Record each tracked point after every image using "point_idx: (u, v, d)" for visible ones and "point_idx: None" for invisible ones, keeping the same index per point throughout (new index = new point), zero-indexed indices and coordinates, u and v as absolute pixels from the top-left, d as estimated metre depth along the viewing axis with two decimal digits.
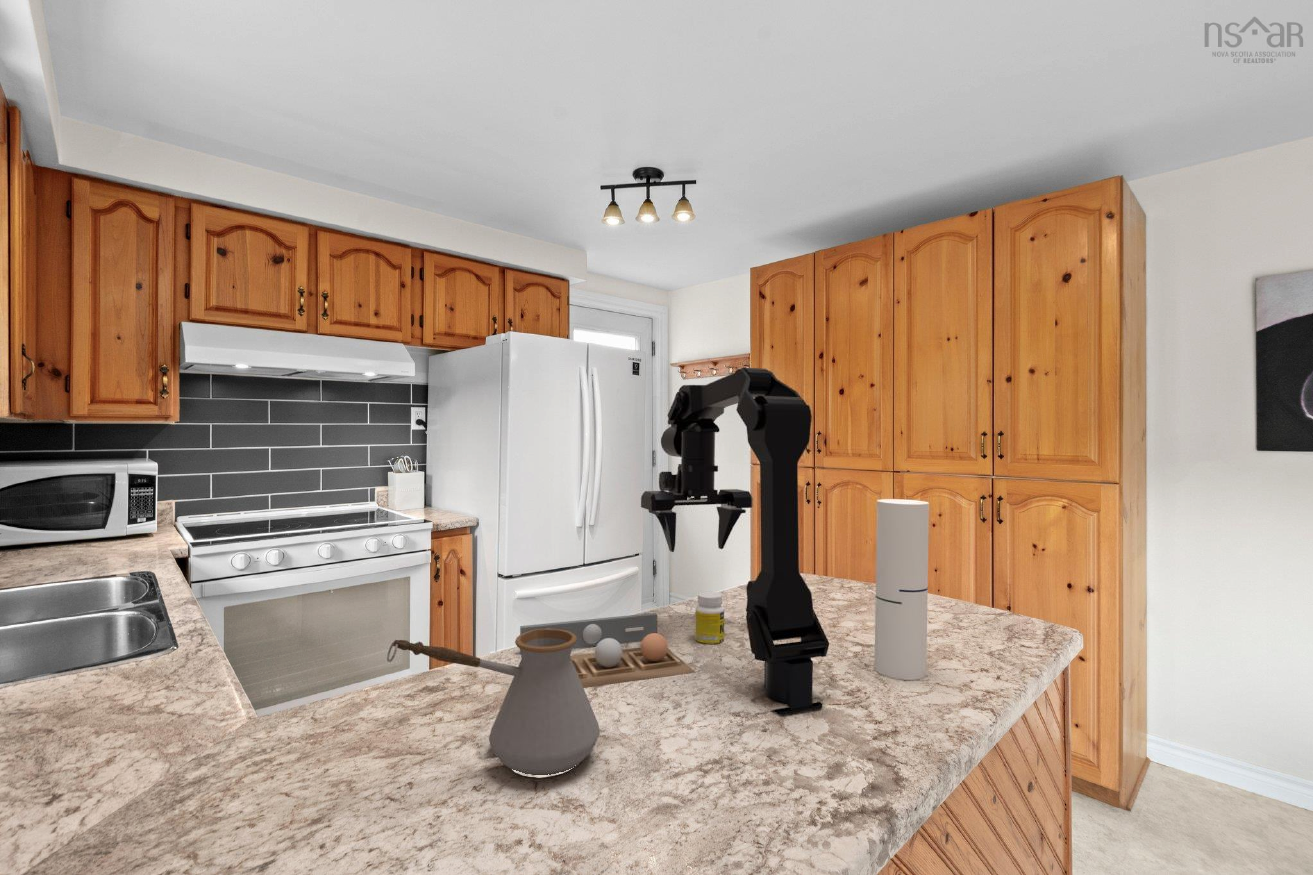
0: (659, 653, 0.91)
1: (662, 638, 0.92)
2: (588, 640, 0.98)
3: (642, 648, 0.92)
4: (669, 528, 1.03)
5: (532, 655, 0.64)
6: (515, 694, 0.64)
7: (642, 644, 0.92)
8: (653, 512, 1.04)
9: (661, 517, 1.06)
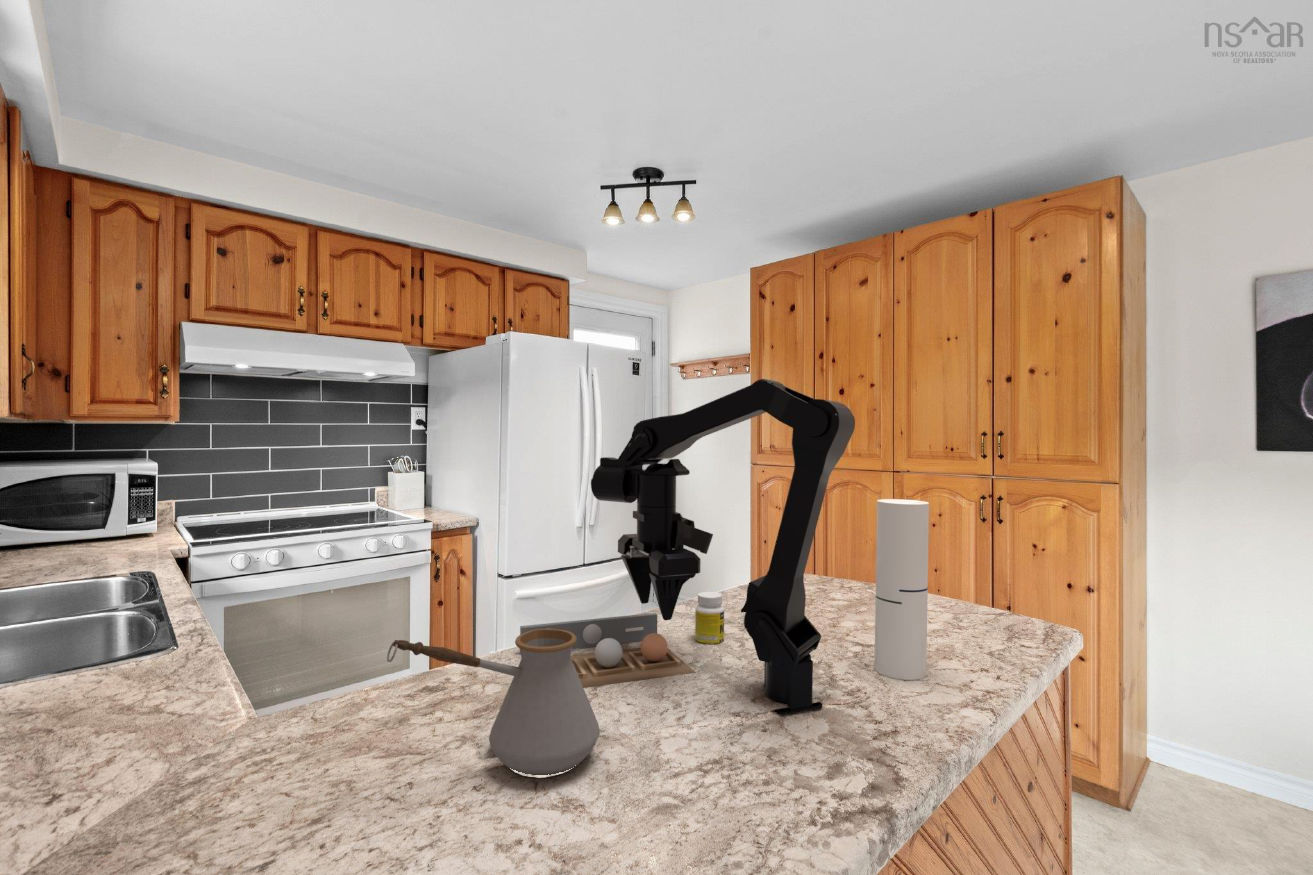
0: (659, 653, 0.91)
1: (662, 638, 0.92)
2: (588, 640, 0.98)
3: (642, 648, 0.92)
4: (629, 574, 0.97)
5: (532, 655, 0.64)
6: (515, 694, 0.64)
7: (642, 644, 0.92)
8: None
9: None
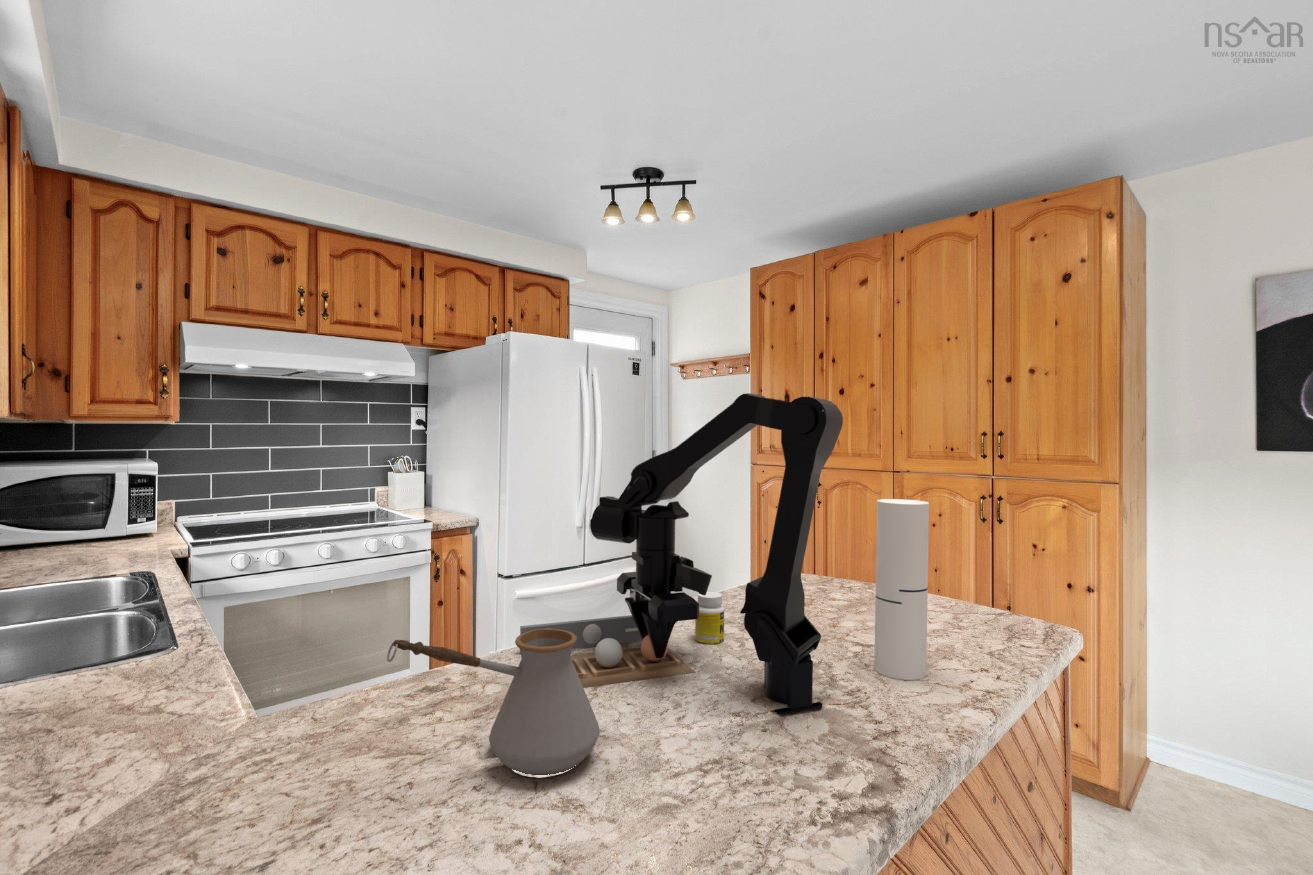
0: None
1: None
2: (588, 640, 0.98)
3: (642, 648, 0.92)
4: (633, 618, 0.95)
5: (532, 655, 0.64)
6: (515, 694, 0.64)
7: (642, 644, 0.92)
8: None
9: None
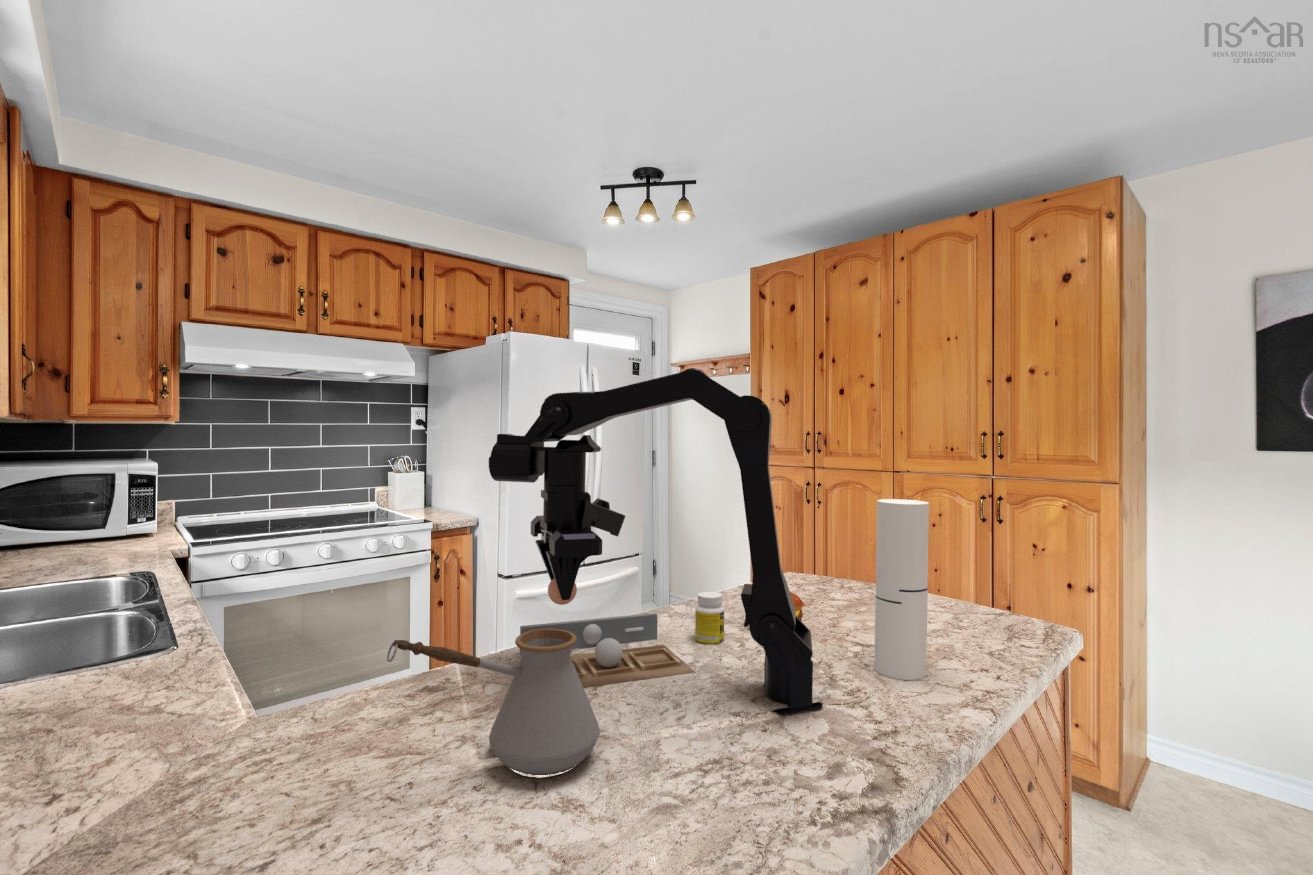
0: None
1: None
2: (588, 640, 0.98)
3: (548, 590, 0.87)
4: (543, 560, 0.90)
5: (532, 655, 0.64)
6: (515, 694, 0.64)
7: (549, 586, 0.87)
8: None
9: None
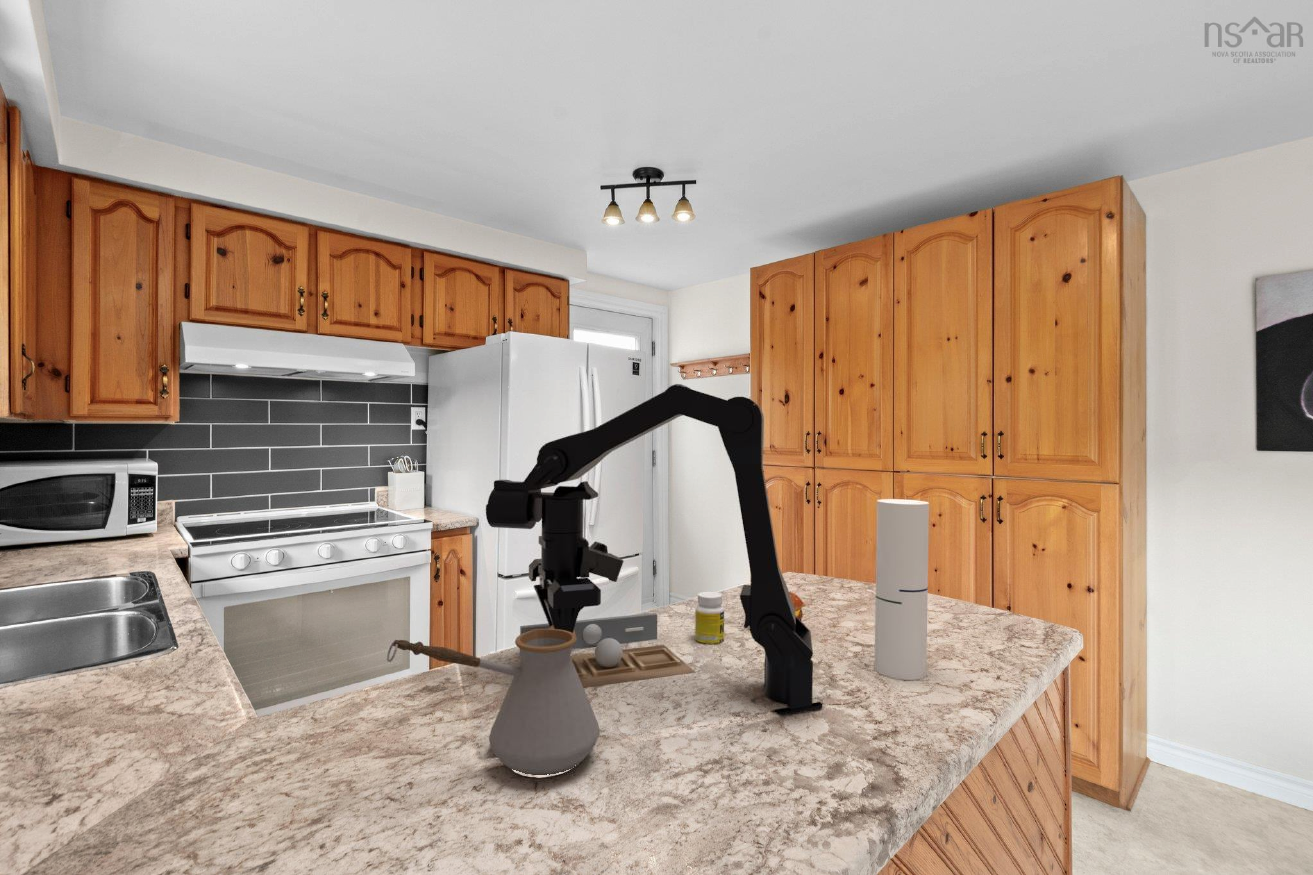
0: None
1: None
2: (588, 640, 0.98)
3: None
4: None
5: (532, 655, 0.64)
6: (515, 694, 0.64)
7: None
8: None
9: None
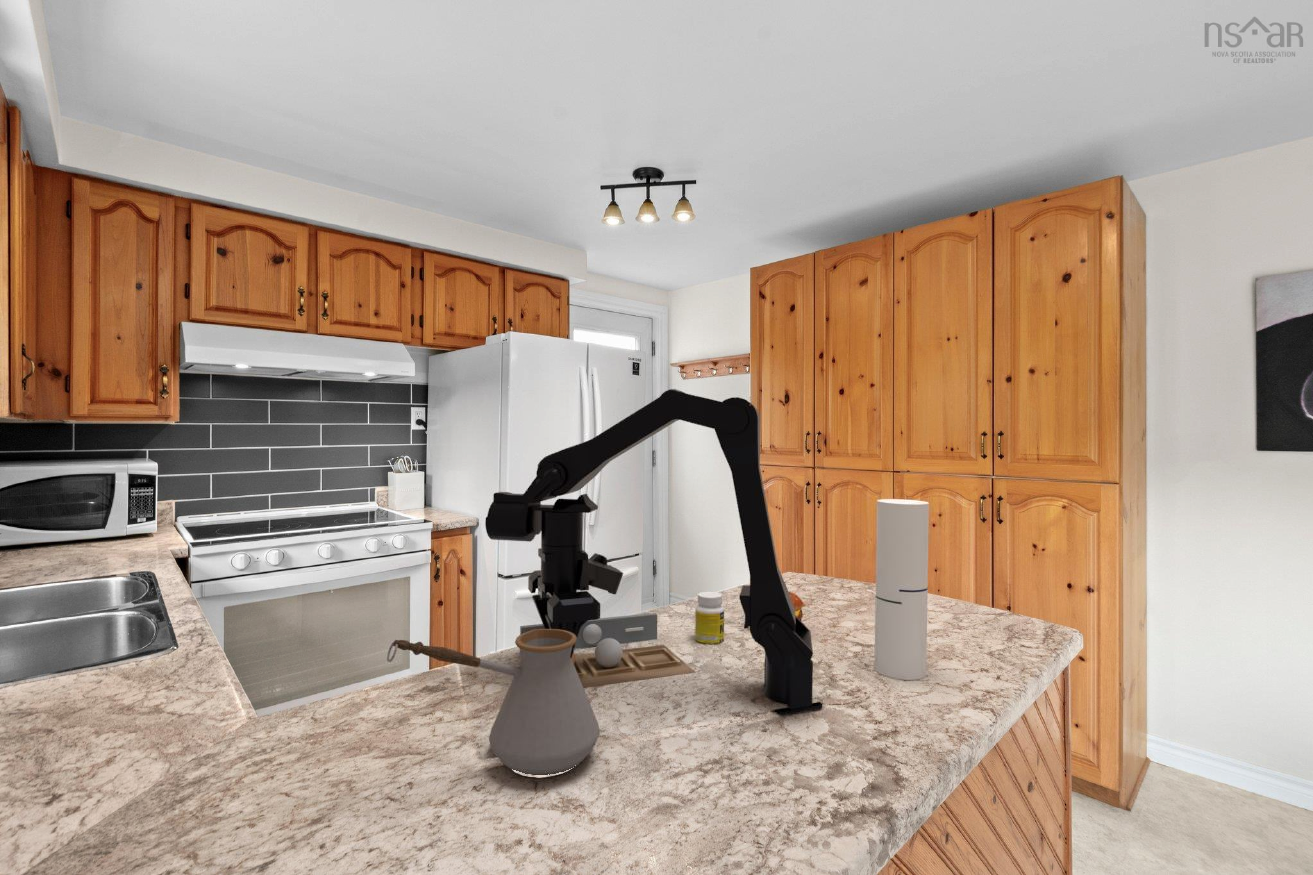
0: None
1: None
2: (588, 640, 0.98)
3: None
4: None
5: (532, 655, 0.64)
6: (515, 694, 0.64)
7: None
8: None
9: None
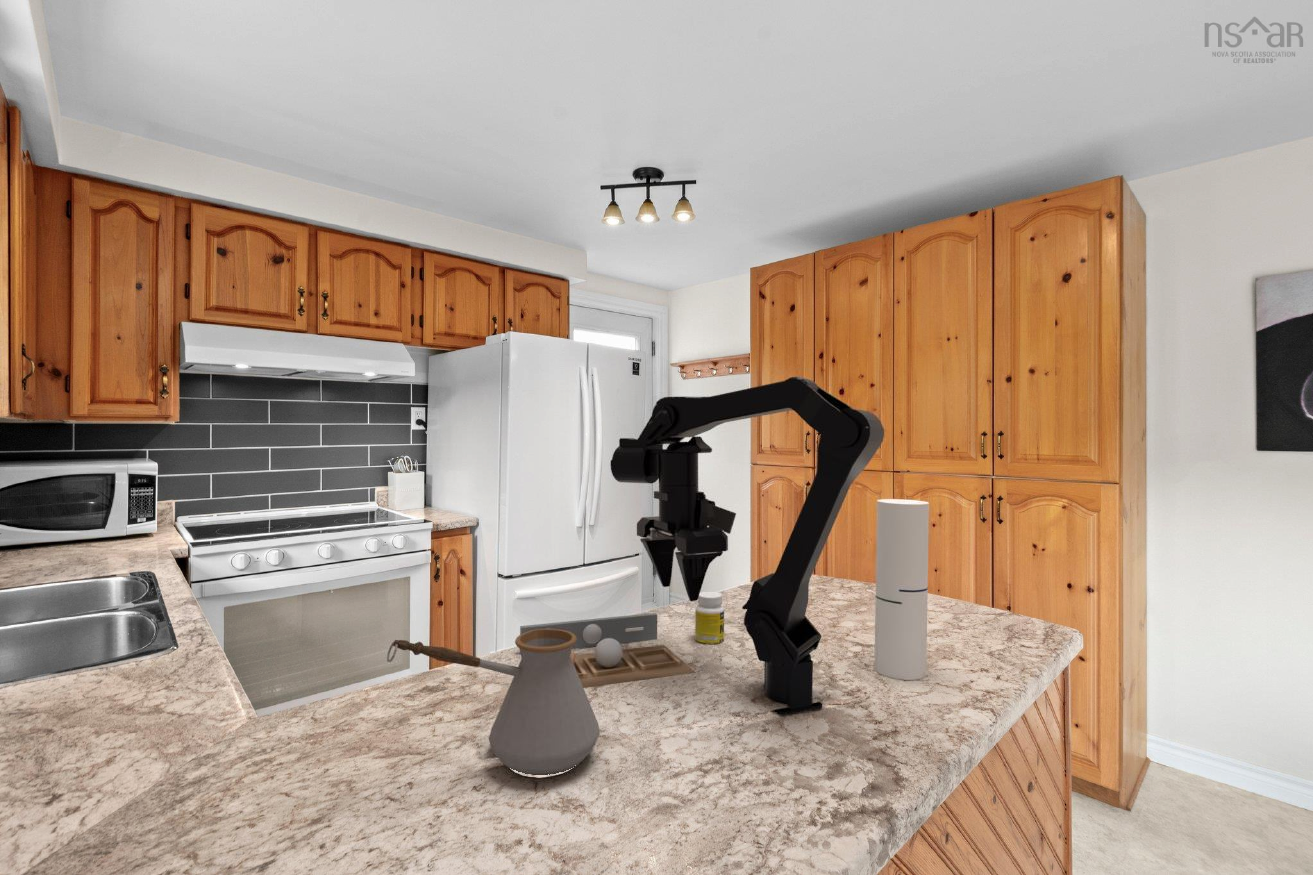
0: None
1: None
2: (588, 640, 0.98)
3: None
4: None
5: (532, 655, 0.64)
6: (515, 694, 0.64)
7: None
8: None
9: None
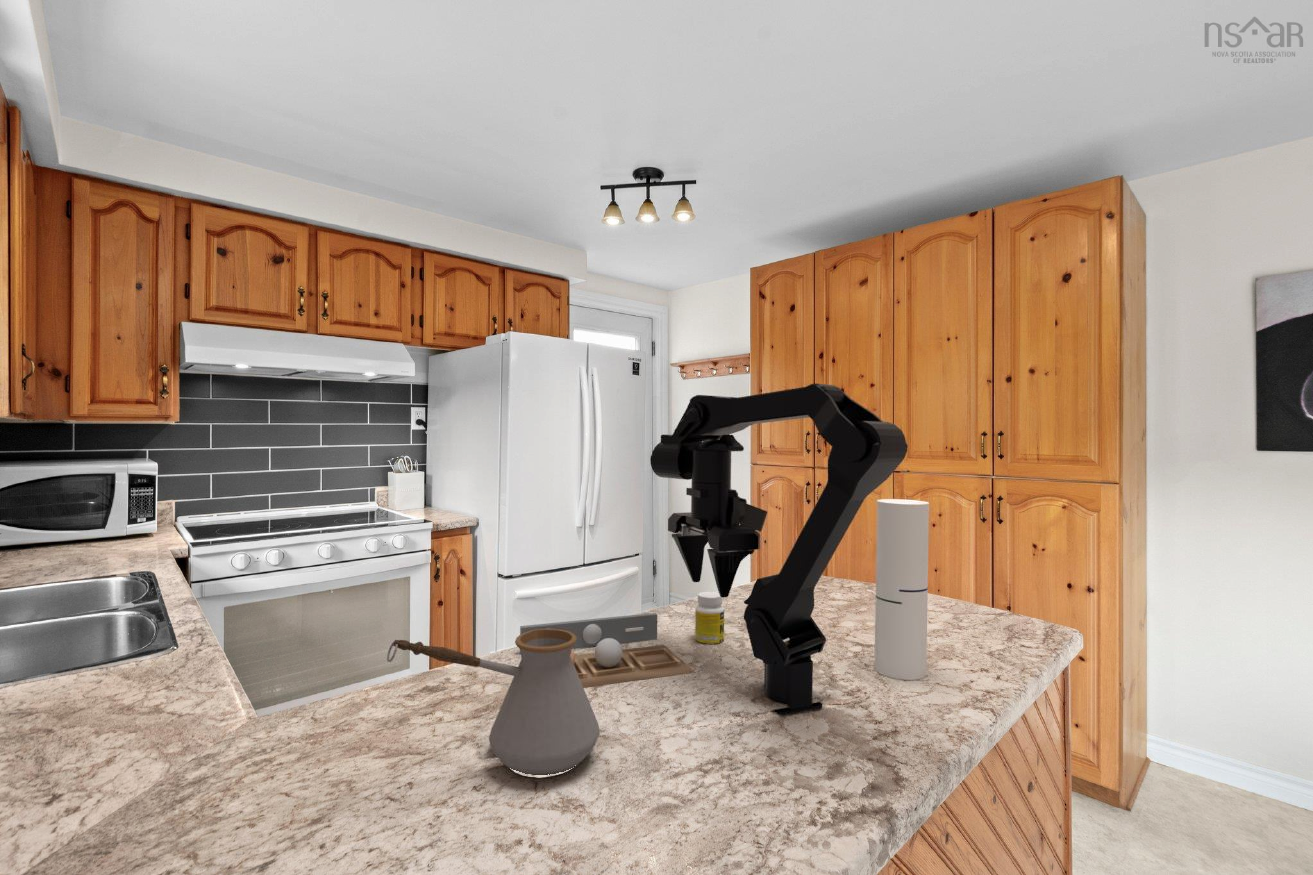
0: None
1: None
2: (588, 640, 0.98)
3: None
4: (680, 552, 0.96)
5: (532, 655, 0.64)
6: (515, 694, 0.64)
7: None
8: None
9: None
